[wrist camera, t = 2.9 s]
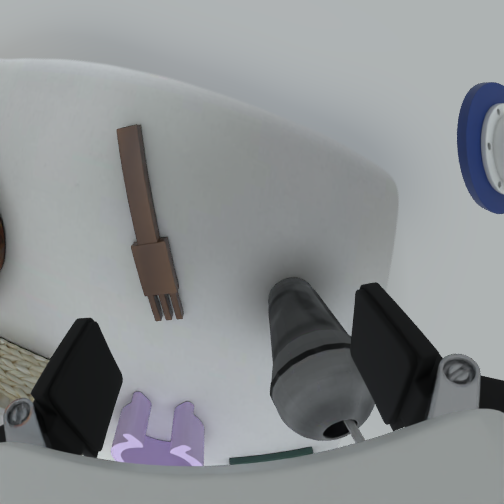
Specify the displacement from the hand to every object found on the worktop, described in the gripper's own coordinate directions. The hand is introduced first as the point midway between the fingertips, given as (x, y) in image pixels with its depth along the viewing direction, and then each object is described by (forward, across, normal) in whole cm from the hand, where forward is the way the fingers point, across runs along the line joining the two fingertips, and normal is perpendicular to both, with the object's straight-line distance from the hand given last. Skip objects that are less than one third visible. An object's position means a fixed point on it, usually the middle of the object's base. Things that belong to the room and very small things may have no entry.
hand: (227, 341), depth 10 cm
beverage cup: (+16, -5, +9) cm, 19 cm away
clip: (+16, +15, +31) cm, 38 cm away
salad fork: (+16, +7, -1) cm, 18 cm away
